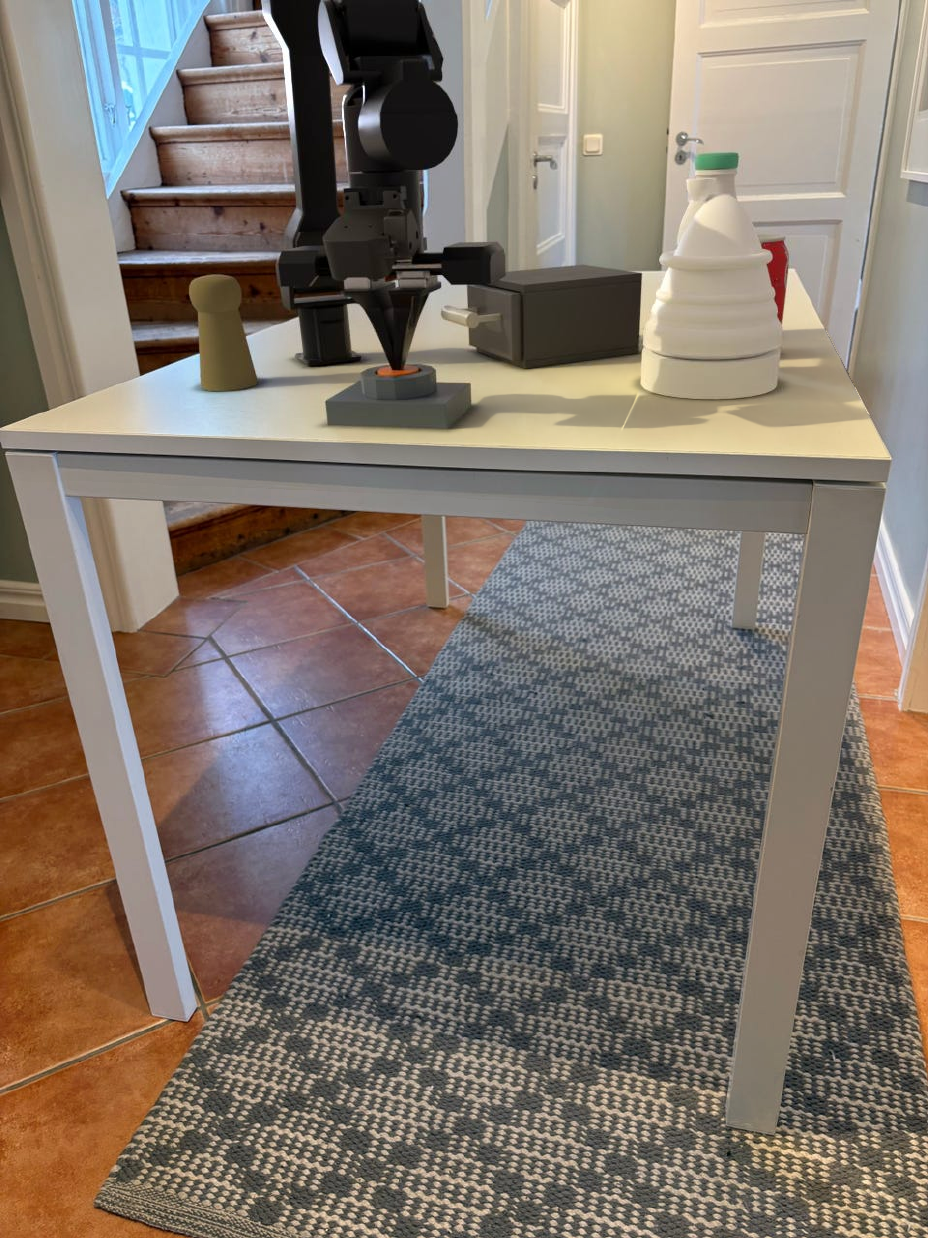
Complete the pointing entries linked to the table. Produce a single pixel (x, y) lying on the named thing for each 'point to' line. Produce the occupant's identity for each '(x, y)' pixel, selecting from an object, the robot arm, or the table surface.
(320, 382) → the table surface
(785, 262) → the soda can
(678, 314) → the honey pot
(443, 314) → the drawer
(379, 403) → the control block
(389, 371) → the button
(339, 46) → the robot arm
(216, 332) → the cork
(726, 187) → the milk bottle
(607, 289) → the cabinet
